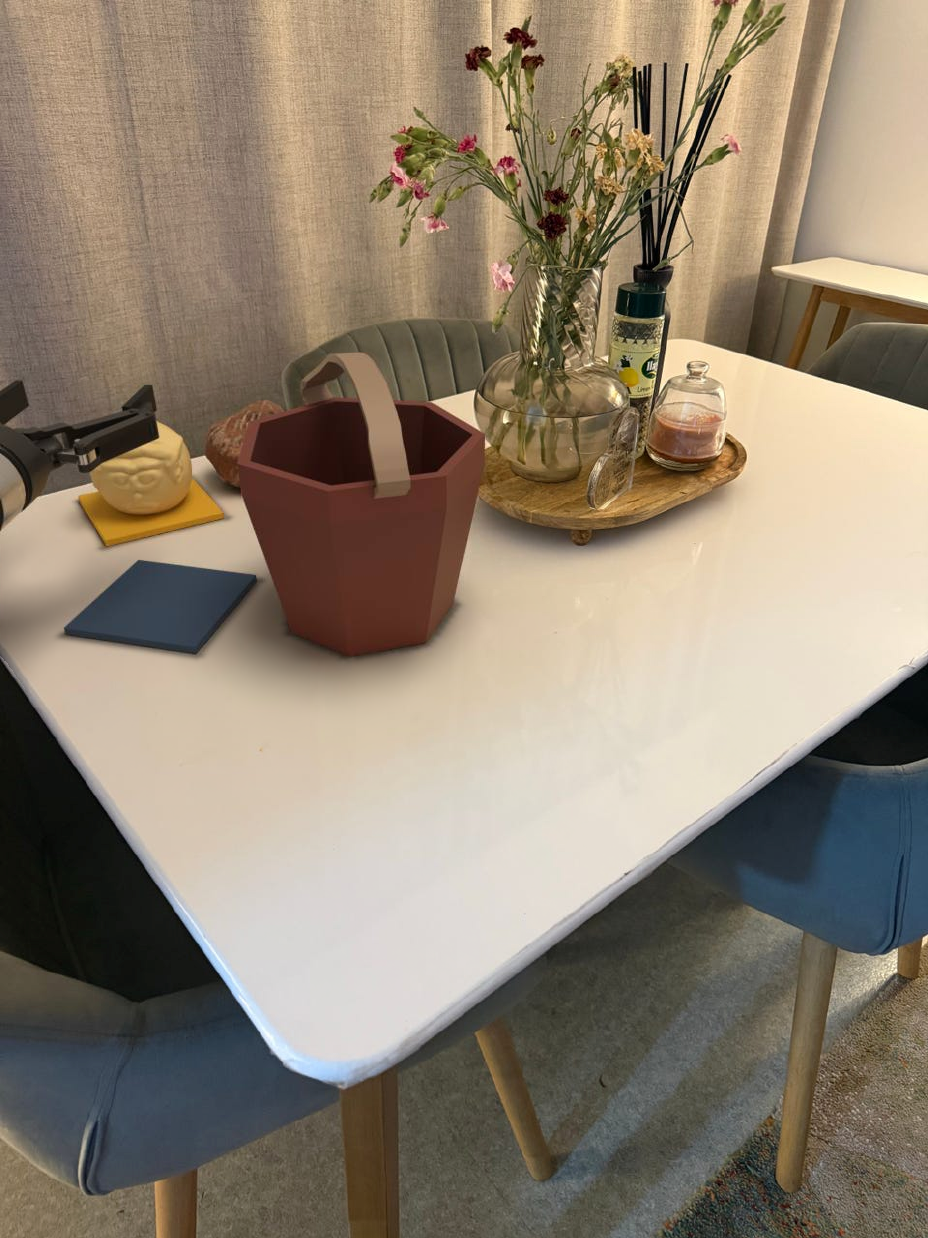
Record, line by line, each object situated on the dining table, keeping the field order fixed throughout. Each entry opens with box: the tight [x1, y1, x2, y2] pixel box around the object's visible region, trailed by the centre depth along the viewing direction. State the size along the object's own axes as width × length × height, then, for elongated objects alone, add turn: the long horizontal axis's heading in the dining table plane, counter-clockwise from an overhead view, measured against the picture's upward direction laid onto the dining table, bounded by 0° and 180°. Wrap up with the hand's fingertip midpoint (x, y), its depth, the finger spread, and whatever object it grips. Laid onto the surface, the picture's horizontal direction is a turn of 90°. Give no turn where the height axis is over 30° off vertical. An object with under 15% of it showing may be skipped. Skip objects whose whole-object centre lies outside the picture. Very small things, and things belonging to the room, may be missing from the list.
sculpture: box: [88, 420, 193, 515], centre depth 107 cm, size 12×12×11 cm
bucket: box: [237, 352, 486, 657], centre depth 85 cm, size 24×22×25 cm
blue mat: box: [63, 559, 258, 655], centre depth 91 cm, size 14×14×1 cm
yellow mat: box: [77, 477, 225, 547], centre depth 110 cm, size 14×14×1 cm
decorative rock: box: [204, 399, 284, 488], centre depth 116 cm, size 13×11×10 cm
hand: (86, 395), depth 92 cm, fingers open, 13 cm apart
